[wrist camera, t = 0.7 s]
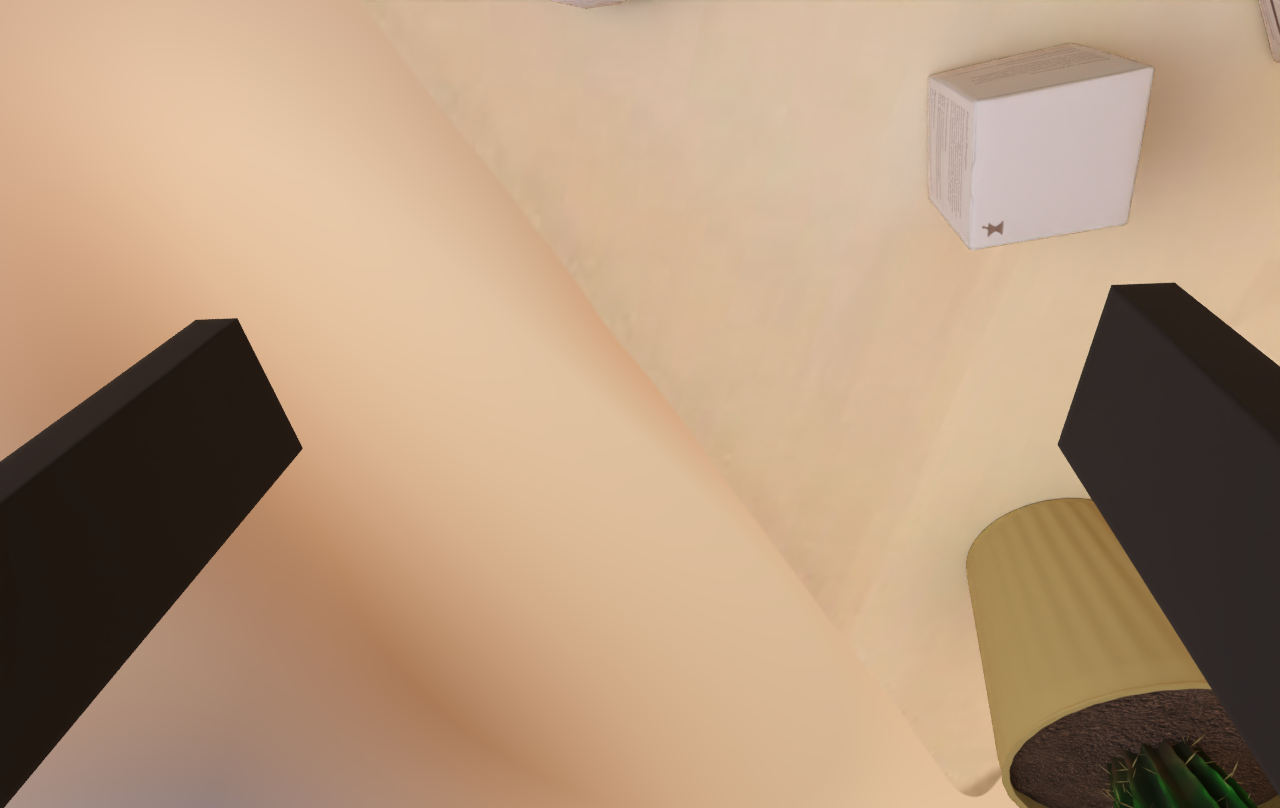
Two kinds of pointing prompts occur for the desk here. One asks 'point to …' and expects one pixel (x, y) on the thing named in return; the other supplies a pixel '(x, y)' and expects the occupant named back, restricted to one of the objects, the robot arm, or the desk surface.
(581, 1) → the donut
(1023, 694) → the potted cactus
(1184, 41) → the desk surface
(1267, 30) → the supplement box
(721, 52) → the desk surface
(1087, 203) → the product box
